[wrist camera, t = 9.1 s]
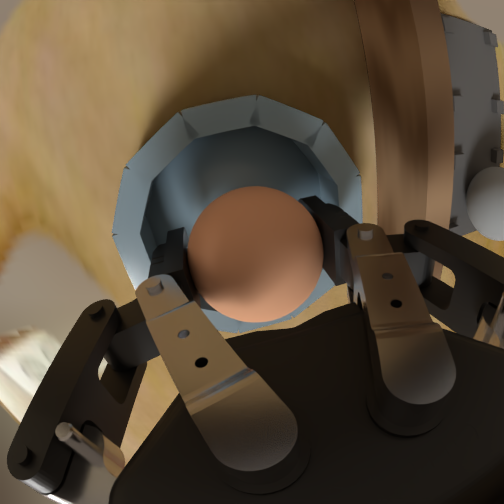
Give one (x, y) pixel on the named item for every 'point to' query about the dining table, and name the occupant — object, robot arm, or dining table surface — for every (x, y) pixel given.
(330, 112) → the dining table surface
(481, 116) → the tray
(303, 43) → the dining table surface
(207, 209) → the ball
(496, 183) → the grey ball
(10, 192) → the dining table surface
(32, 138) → the dining table surface
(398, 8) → the rail
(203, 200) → the dish
